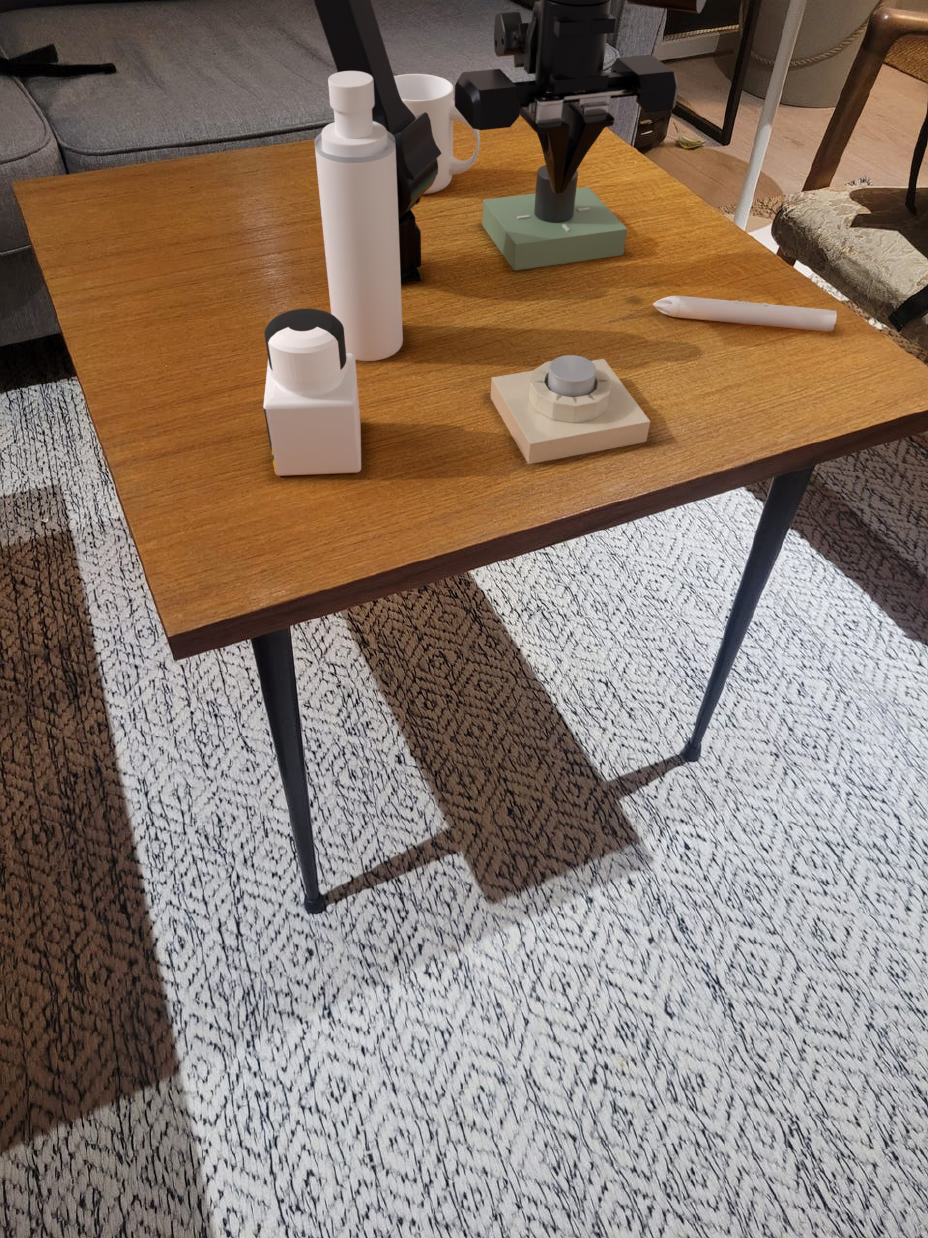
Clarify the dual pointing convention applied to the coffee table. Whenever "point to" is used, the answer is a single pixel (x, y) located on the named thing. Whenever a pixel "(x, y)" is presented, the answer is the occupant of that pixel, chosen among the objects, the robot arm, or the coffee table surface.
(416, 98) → the mug
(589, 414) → the button housing
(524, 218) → the dial panel
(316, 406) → the medicine bottle
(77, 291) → the coffee table surface
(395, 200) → the white bottle
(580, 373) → the gray button cap
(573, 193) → the dial
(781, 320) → the marker
